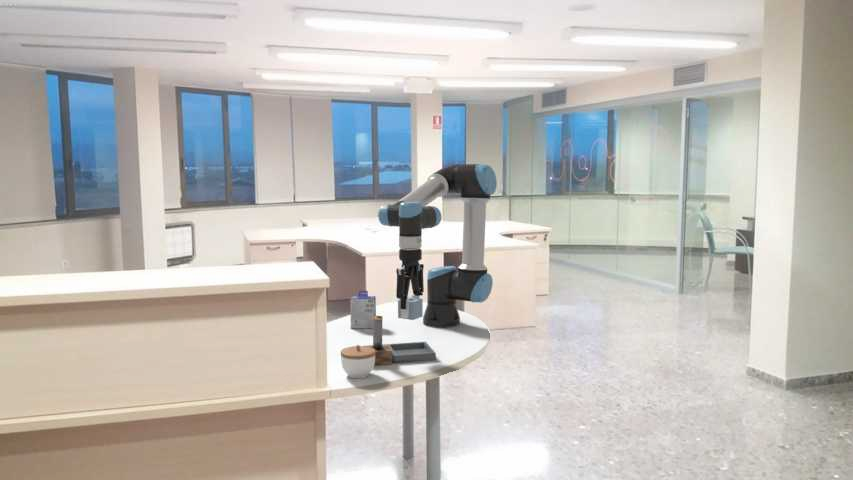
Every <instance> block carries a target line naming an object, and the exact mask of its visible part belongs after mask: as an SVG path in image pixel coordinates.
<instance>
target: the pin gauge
mask: <svg viewBox="0 0 853 480" xmlns="http://www.w3.org/2000/svg"><path fill="white" fill-rule="evenodd" d="M383 319H384V318H383V316H382V315H376V316H373V328H372V333H373V334H372V345H373V348H374V349H375V350H382V345H383Z"/></svg>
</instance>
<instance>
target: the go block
mask: <svg viewBox="0 0 853 480" xmlns="http://www.w3.org/2000/svg"><path fill="white" fill-rule="evenodd" d="M387 344H388V343H386V344H383V343H382V350H375V351H376V354H375V364H374V367H375V366H376V367H377V366H386V365H393V363H392V362H393V361H392V351H391V349H390V348H389V346H388V345H387ZM366 346H367V347H371V348H373V344H371V345H366Z"/></svg>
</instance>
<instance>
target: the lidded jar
mask: <svg viewBox="0 0 853 480" xmlns="http://www.w3.org/2000/svg"><path fill="white" fill-rule="evenodd" d="M367 346H368V345H359V344H358V345H357V344H356V345H355V346H354V345H353V346H348V347H345V348H343V349H341V350H340V358H341V359H340V360H341V367H342V369H343V371H344V372H345V374H346V375H348V377H349V378H352V379H364V378H367V377H368V376H369V374H370V373H371V372H372V371H373V369H374V368H375V366H374V364H375V354H376V351H375V349H374V348H371V347H367Z"/></svg>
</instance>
